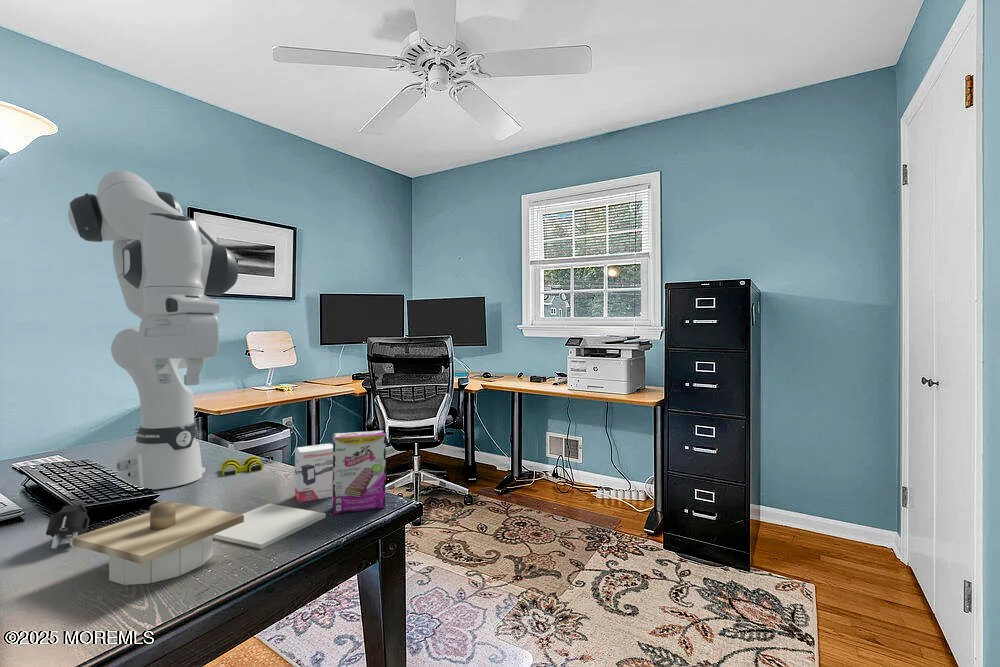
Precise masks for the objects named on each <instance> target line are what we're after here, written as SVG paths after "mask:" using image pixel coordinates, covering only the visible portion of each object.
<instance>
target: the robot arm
mask: <svg viewBox="0 0 1000 667" xmlns="http://www.w3.org/2000/svg"><path fill="white" fill-rule="evenodd" d="M181 206H182V205H180V203H179V202H178V200H177V199H176V197H175V196H174V195H173V194H171V193H169V192H166V191H157V190H155V189H154V188H153V186H152V185H150V183H149V182H148V181H146V179H144V178H143V177H141V176H140V175H138V174H136V173H133V172H131V171H128V170H114V171H113V170H112V171H111V172H108V173H106V174H105V175H103V177H102V178H101V179H100V180H99V182H98V186H97V192H96V193H94V194H89V193H88V192H86V193H84V195H81V196H78V197H75V198H73V199H72V200H71V202H69V207H68V211H67V217H68V221H69V224H70V226H71V228H72V229H73V230H74V232H75V233H76V234H77V235H78V236H79V237H80V238H81V239H83V240H84V241H86V242H95V243H102V242H103V241H113V243H112V256H113V257H112V258H113V264H114V269H115V274H116V277H117V281H118V283H119V287H120V289H121V294H122V295H123V296H122V297H123V300H124V303H125V306H126V308H127V309H128V310H129V312H130V313H132V314H133V315H135V316H136V317H139V319H141V320H140V323H139V326H134V327H133V326H132V327H129V328H125V329H122V330H121V331H119V332H117V333H116V334H115V336H114V338H113V340H112V342H111V346H110V351H111V356H112V359H113V361H114V362H115V363H116V365H118V367H121V369H124V371H125V372H127V373H128V374H129V376H130V377H131V379H132V380H133V382H134V385H135V386H136V388H137V392H138V396H139V405H140V427H139V428H136V429H134V431H135V432H134V435H135V434H136V438H135V443H134V444H133V445H132V446H130V447H129V449H127V450H126V451H125V452H124V453H123V454H122V455H121V456H120V457H119V458H118V461H117V462H116V470H117V472H116V473H117V474H116V475H117V476H119V477H121V478H123V479H124V480H126V481H128V482H129V483H131V484H133V485H135V486H138V487H144V488H148V489H152V490H160V489H162V490H163V489H169V488H175V487H179V486H182V485H187V484H190V483H193V482H195V481H198V480H200V479H202V477H203V474H204V473H205V472H206V467H204V466H203V465H202V458H201V455H202V454H201V448H200V443H199V441H197V440H196V437H197V429H198V427H197V423H196V422H195V394H194V391H193V390H192V389H191V388H190V386H197V385H199V384H200V374H201V372H202V369H203V366H204V363H207V362H209V361H210V360H212V358H215V356H216V355H217V353H218V351H219V347H220V346H219V344H220V336H219V335H220V332H219V330H220V328H219V326H220V325H219V320H218V316H216V315H218V314H219V313H220V302H219V301H218V300H215V299H213V298H211V297H210V296H219V297H220V296H222V295H224V294H225V293H226V292H228V291H230V289H232V288H233V287H234V286H235V285H236V283H237V280H238V277H239V268H238V262H237V260H236V257H235V256H234V255H233V253H232V252H231V251H230V250H229V249H228V248H227V247H226V246H225V245H221V244H218V243H217V242H216V241H215V240H214V239H213V238H212V237H211V236H210V235H209V234H208V233H207V232H206V231H205V230H204V229H203V228H202V227H201V226H200V225H199V224H198V221H196V220H195V219H193V218H192V217H189V216H187V215H186V214H184V212H183V209H182V207H181ZM207 295H209V296H207ZM179 369H186V373H185V374H184V375H183V381H182V379H181V377H180V373H179ZM188 386H189V387H188Z"/></svg>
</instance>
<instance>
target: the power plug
mask: <svg viewBox="0 0 1000 667" xmlns="http://www.w3.org/2000/svg"><path fill="white" fill-rule="evenodd" d="M47 524H48V525H47V529H46V531H45V535H46V536H50V537H52V538H53V539H52V544H51V547H50V549H52V550H55V549H57V548H58V544H59V541H60V539H64V538H66V539H67V538H70V537H71V538H70V542H69V547H74V546H73V545H72V538H73V537H76V536H79V535H82V534H85V533H88V528H89V526H90V525H89V524H90V517H89V516H88V510H87V509H86V507H85V506H84V505H83V504H82V503H78V504H71V505H70V504H69V505H64V506H62V509H61V510H59V511H57V512H55V514H53V515H51V516H50V518H49V521H48V523H47Z"/></svg>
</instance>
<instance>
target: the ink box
mask: <svg viewBox="0 0 1000 667" xmlns="http://www.w3.org/2000/svg"><path fill="white" fill-rule="evenodd" d="M332 478H333V443H321V444H314V445H307V446H297V448H295V449H294V489H295V490H294V492H295V493H294V495H295V498H296V501H297V502H298V503H300V504H301V503H305V501H306V502H310V501H315V500H321V499H327V498H332Z"/></svg>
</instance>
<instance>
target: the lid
mask: <svg viewBox="0 0 1000 667" xmlns="http://www.w3.org/2000/svg"><path fill="white" fill-rule="evenodd" d="M242 522H244V515H241V513H240V514H239V513H234V512H231V511H224V510H219V509H213V508H209V507H203V506H198V505H194V504H189V503H182V502H178V503H176V501H174V500H170V501H169V500H168V501H167V500H166V501H161V502H156V503H154V504H151V505H150V506H149V512H147V513H144V514H141V515H138V516H135V517H132V518H128V519H126V520H123V521H119V522H116V523H114V524H110V525H106V526H104V527H101V528H97V529H95V530H91V531H89V532H88V531H87V532H86V533H85V534H82V535H79V536H76V537H73V538H72V545H73V547H77V548H82V549H85V550H89V551H93V552H95V553H100V554H102V555H103V554H104V555H108V556H109V555H110V556H113V557H117V558H121V559H124V560H128V561H132V562H135V563H139V564H143V563H146V562H148V561H150V560H153V559H155V558H158V557H160V556H163V555H165V554H167V553H170V552H172V551H175V550H177V549H179V548H182V547H184V546H187V545H189V544H192V543H194V542H196V541H199V540H201V539H204V538H206V537H208V536H211V535H213V534H216V533H218V532H221V531H223V530H225V529H228V528H230V527H233V526H235V525H237V524H240V523H242Z"/></svg>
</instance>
